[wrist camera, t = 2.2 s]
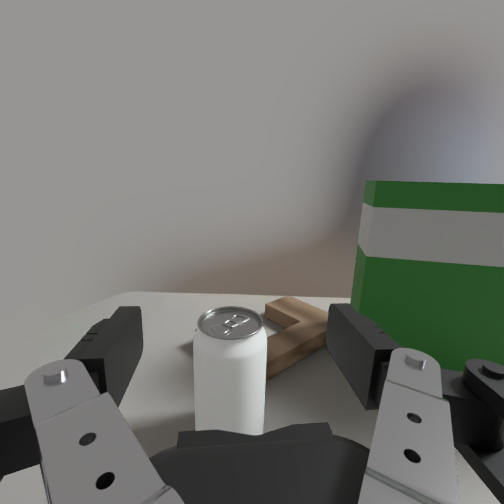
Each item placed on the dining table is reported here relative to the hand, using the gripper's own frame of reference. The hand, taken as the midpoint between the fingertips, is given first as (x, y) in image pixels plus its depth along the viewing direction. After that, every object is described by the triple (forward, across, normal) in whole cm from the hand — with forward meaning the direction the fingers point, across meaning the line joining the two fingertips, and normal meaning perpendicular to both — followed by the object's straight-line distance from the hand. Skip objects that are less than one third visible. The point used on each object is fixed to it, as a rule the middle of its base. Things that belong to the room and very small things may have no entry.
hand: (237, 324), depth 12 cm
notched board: (+27, -7, +18) cm, 33 cm away
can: (+11, 0, +18) cm, 21 cm away
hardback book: (+22, -27, +18) cm, 39 cm away
